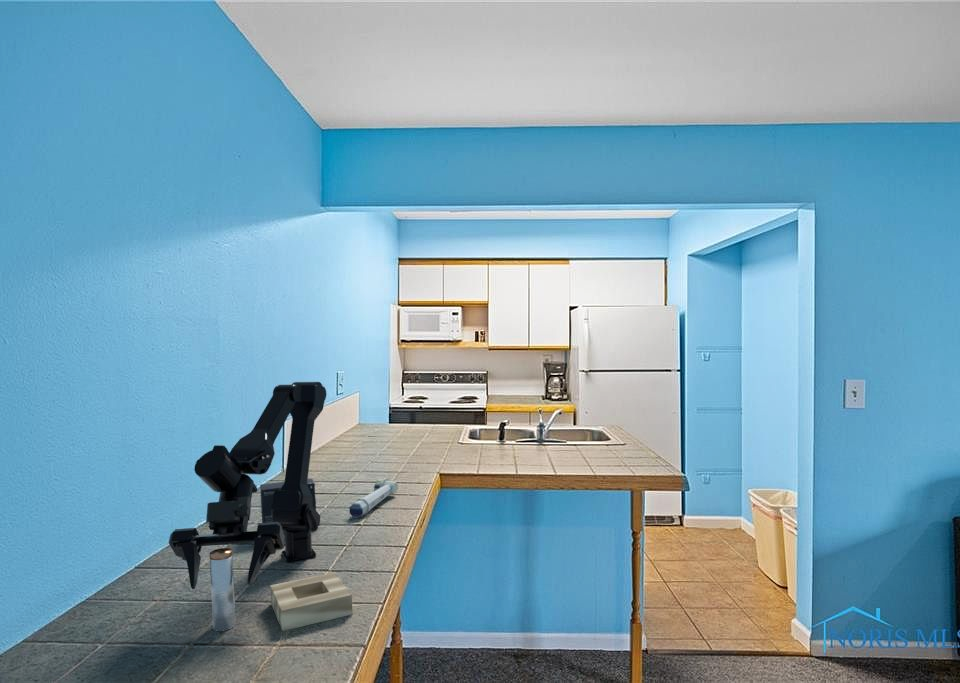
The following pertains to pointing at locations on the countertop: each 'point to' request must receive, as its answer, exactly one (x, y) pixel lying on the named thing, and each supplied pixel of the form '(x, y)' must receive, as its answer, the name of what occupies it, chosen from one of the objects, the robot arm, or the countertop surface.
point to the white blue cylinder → (373, 497)
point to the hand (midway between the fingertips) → (221, 585)
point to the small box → (267, 498)
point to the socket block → (310, 600)
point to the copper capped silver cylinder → (222, 589)
